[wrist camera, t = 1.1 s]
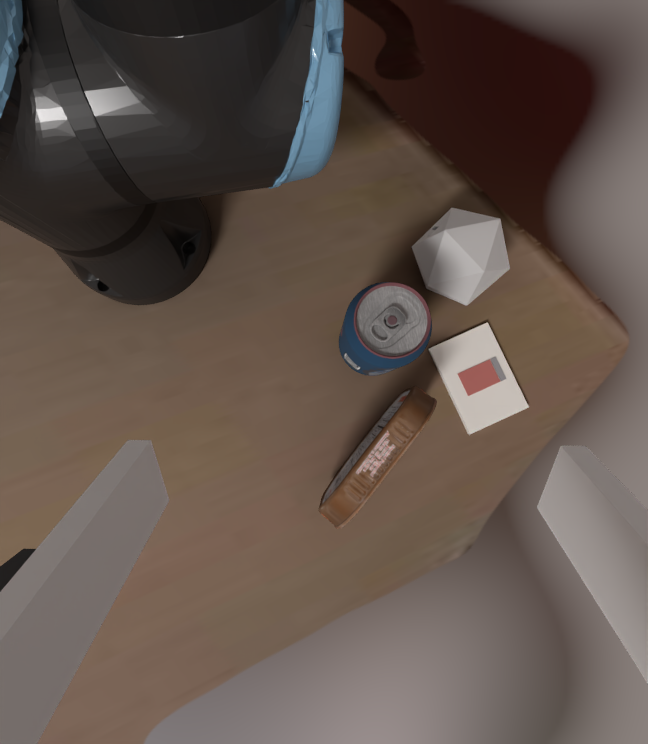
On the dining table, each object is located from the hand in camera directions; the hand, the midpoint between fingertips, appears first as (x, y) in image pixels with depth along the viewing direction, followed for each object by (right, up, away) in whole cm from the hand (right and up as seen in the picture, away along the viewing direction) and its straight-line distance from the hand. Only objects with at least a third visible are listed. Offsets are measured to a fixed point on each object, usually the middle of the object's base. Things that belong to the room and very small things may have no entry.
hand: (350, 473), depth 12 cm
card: (+16, +3, +26) cm, 30 cm away
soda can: (+4, +6, +26) cm, 27 cm away
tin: (+4, -5, +25) cm, 26 cm away
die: (+13, +14, +27) cm, 33 cm away
